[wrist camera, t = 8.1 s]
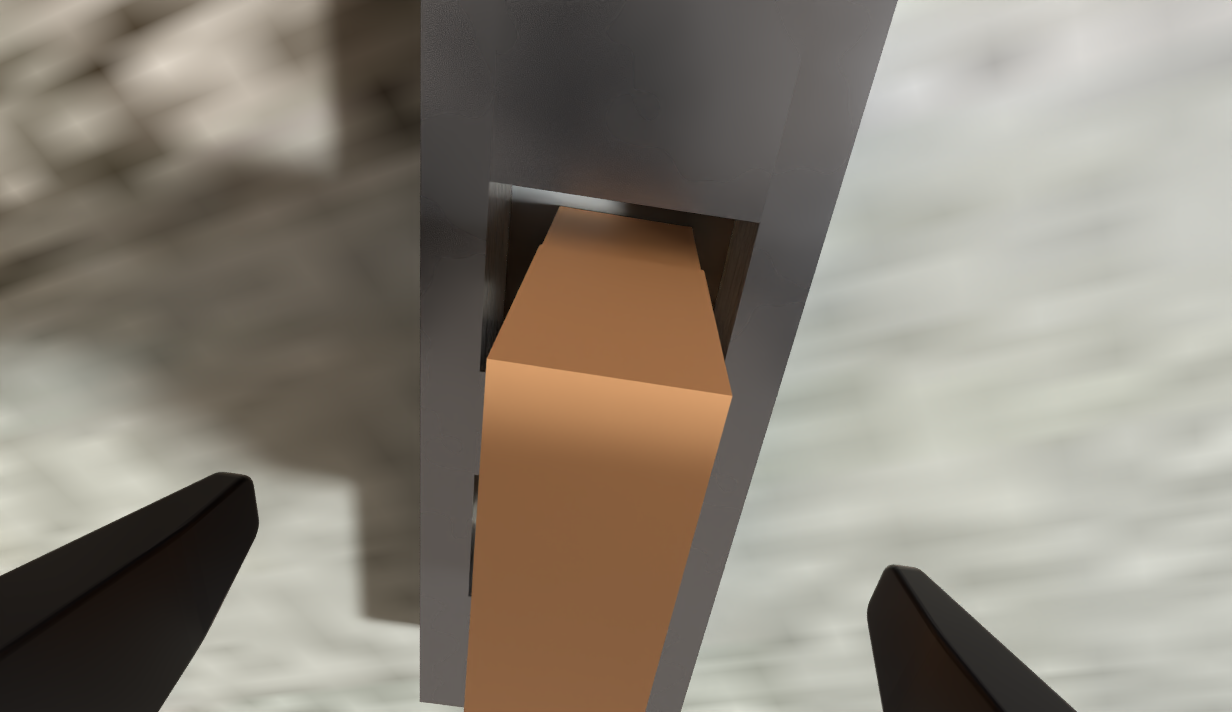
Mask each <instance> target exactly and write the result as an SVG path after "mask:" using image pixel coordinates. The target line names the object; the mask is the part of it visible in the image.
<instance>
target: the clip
mask: <svg viewBox="0 0 1232 712" xmlns="http://www.w3.org/2000/svg"><path fill="white" fill-rule="evenodd" d="M731 399H732V392H731V387H730V383H729V379H728V374H727V370H726V365H725V361H724V357H723V352H722V348H721V343H720V339H719V334H718V330H717V326H716V321H715V317H714V312H713V308H712V304H711V299H710V295H709V290H708V286H707V281H706V277H705V273H704V270H701V267H700V263H699V258H698V253H697V249H696V244H695V239H694V235H693V230H692V227H687V226H681V225H674V224H668V223H662V222H656V221H650V220H643V219H637V218H631V217H625V216H618V215H612V214H606V213H600V212H593V211H587V210H581V209H575V208H569V207H562V206H559V209H558V211H557V213H556V215H555V217H554V220H553V222H552V224H551V226H550V228H549V231H548V233H547V235H546V237H545V239H544V242H543V244H542V245H539V247H538V250H537V252H536V254H535V256H534V258H533V260H532V262H531V265H530V267H529V269H528V271H527V273H526V275H525V277H524V280H523V282H522V284H521V286H520V288H519V290H518V292H517V295H516V297H515V299H514V301H513V303H512V305H511V308H510V310H509V312H508V314H507V316H506V318H505V320H504V323H503V325H502V327H501V329H500V331H499V333H498V335H497V338H496V340H495V342H494V344H493V346H492V348H491V350H490V353H489V355H488V357H487V362H486V377H485V393H484V408H483V424H482V439H481V455H480V470H479V486H478V501H477V517H476V532H475V548H474V563H473V579H472V594H471V610H470V625H469V640H468V656H467V671H466V687H465V702H464V712H645V711H646V707H647V703H648V700H649V696H650V692H651V689H652V685H653V682H654V678H655V674H656V671H657V667H658V663H659V660H660V656H661V653H662V649H663V645H664V642H665V638H666V635H667V631H668V627H669V624H670V620H671V616H672V613H673V609H674V606H675V602H676V598H677V595H678V591H679V587H680V584H681V580H682V577H683V573H684V569H685V566H686V562H687V559H688V555H689V551H690V548H691V544H692V540H693V537H694V533H695V530H696V526H697V522H698V519H699V515H700V511H701V508H702V504H703V501H704V497H705V493H706V490H707V486H708V483H709V479H710V475H711V472H712V468H713V464H714V461H715V457H716V454H717V450H718V446H719V443H720V439H721V435H722V432H723V428H724V425H725V421H726V417H727V414H728V410H729V407H730V403H731Z"/></svg>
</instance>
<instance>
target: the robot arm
mask: <svg viewBox="0 0 1232 712" xmlns="http://www.w3.org/2000/svg"><path fill="white" fill-rule="evenodd" d="M258 527H259V517H258V510H257V503H256V497H255V490H254V485H253V481H252V480H251V478H250V477H248V476H246V475H242V474H235V473H227V472H218V473H215V474H212V475H210V476H208V477H206V478H204V479H202V480H200V481H198V482H196V483H193V484H191V485H189V486H187V487H185V488H183V489H181V490H179V491H177V492H175V493H173V494H170V495H168V496H166V497H164V498H162V499H160V500H158V501H156V502H154V503H152V504H150V505H147V506H145V507H143V508H141V509H139V510H137V511H135V512H133V513H131V514H129V515H127V516H124V517H122V518H120V519H118V520H116V521H114V522H112V523H110V524H108V525H106V526H104V527H101V528H99V529H97V530H95V531H93V532H91V533H89V534H87V535H85V536H83V537H81V538H78V539H76V540H74V541H72V542H70V543H68V544H66V545H64V546H62V547H60V548H58V549H55V550H53V551H51V552H49V553H47V554H45V555H43V556H41V557H39V558H37V559H35V560H32V561H30V562H28V563H26V564H24V565H22V566H20V567H18V568H16V569H14V570H12V571H9V572H7V573H5V574H3V575H1V576H0V712H158V711H159V710H160V708H161V707H162V705H163V704H164V702H165V700H166V699H167V697H168V696H169V694H170V693H171V691H172V689H173V688H174V686H175V685H176V683H177V682H178V680H179V678H180V677H181V675H182V674H183V672H184V671H185V669H186V667H187V666H188V664H189V663H190V661H191V660H192V658H193V656H194V655H195V653H196V651H197V650H198V648H199V647H200V645H201V643H202V642H203V640H204V638H205V636H206V634H207V633H208V631H209V629H210V627H211V625H212V623H213V621H214V619H215V617H216V615H217V613H218V611H219V609H220V607H221V605H222V603H223V601H224V599H225V597H226V595H227V593H228V591H229V589H230V587H231V585H232V583H233V581H234V579H235V577H236V575H237V573H238V571H239V569H240V567H241V565H242V563H243V561H244V559H245V557H246V555H247V553H248V551H249V549H250V547H251V545H252V543H253V541H254V539H255V537H256V534H257V531H258ZM867 621H868V628H869V633H870V639H871V645H872V651H873V657H874V662H875V668H876V674H877V680H878V686H879V691H880V697H881V703H882V709H883V712H1077V711H1076V710H1074V709H1073V708H1072V707H1071V706H1070V705H1069V704H1068V703H1067V702H1066V701H1065V700H1063V699H1062V698H1061V697H1060V696H1059V695H1058V694H1057V693H1056V692H1055V691H1054V690H1052V689H1051V688H1050V687H1049V686H1048V685H1047V684H1046V683H1045V682H1044V681H1043V680H1041V679H1040V678H1039V677H1038V676H1037V675H1036V674H1035V673H1034V672H1033V671H1032V670H1030V669H1029V668H1028V667H1027V666H1026V665H1025V664H1024V663H1023V662H1022V661H1021V660H1019V659H1018V658H1017V657H1016V656H1015V655H1014V654H1013V653H1012V652H1011V651H1010V650H1008V649H1007V648H1006V647H1005V646H1004V645H1003V644H1002V643H1001V642H1000V641H999V640H997V639H996V638H995V637H994V636H993V635H992V634H991V633H990V632H989V631H988V630H986V629H985V628H984V627H983V626H982V625H981V624H980V623H979V622H978V621H976V620H975V619H974V618H973V617H972V616H971V615H970V614H969V613H968V612H967V611H965V610H964V609H963V608H962V607H961V606H960V605H959V604H958V603H957V602H956V601H954V600H953V599H952V598H951V597H950V596H949V595H948V594H947V593H946V592H945V591H943V590H942V589H941V588H940V587H939V586H938V585H937V584H936V583H935V582H934V581H932V580H931V579H930V578H929V577H928V576H927V575H926V574H925V573H924V572H922V571H921V570H920V569H918V568H915V567H909V566H902V565H889V566H887V567H886V568H885V570H884V571H883V573H882V575H881V578H880V580H879V582H878V584H877V586H876V588H875V591H874V593H873V595H872V597H871V599H870V601H869V604H868V609H867Z"/></svg>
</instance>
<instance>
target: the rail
mask: <svg viewBox="0 0 1232 712" xmlns="http://www.w3.org/2000/svg"><path fill="white" fill-rule="evenodd" d="M897 1H898V0H421V219H420V702H426V703H434V704H442V705H450V706H457V707H464V702H465V687H466V671H467V656H468V640H469V625H470V610H471V594H472V579H473V563H474V548H475V532H476V517H477V501H478V486H479V470H480V455H481V439H482V424H483V408H484V393H485V377H486V362H487V357H488V355H489V353H490V350H491V348H492V346H493V344H494V342H495V340H496V338H497V335H498V333H499V331H500V329H501V327H502V325H503V323H504V322H503V314H504V299H505V284H506V269H507V254H508V239H509V225H510V210H511V195H512V185H515V186H522V187H529V188H535V189H542V190H548V191H555V192H561V193H568V194H574V195H581V196H587V197H594V198H600V199H607V200H613V201H620V202H626V203H633V204H639V205H646V206H652V207H659V208H665V209H672V210H678V211H685V212H691V213H698V214H704V215H711V216H717V217H724V218H730V219H735V223H734V227H733V232H732V236H731V240H730V244H729V249H728V253H727V257H726V262H725V266H724V270H723V274H722V279H721V283H720V287H719V291H718V296H717V300H716V304H715V308H714V317H715V321H716V326H717V330H718V334H719V339H720V343H721V348H722V352H723V357H724V361H725V365H726V370H727V374H728V379H729V383H730V387H731V392H732V399H731V403H730V407H729V410H728V414H727V417H726V421H725V425H724V428H723V432H722V435H721V439H720V443H719V446H718V450H717V454H716V457H715V461H714V464H713V468H712V472H711V475H710V479H709V483H708V486H707V490H706V493H705V497H704V501H703V504H702V508H701V511H700V515H699V519H698V522H697V526H696V530H695V533H694V537H693V540H692V544H691V548H690V551H689V555H688V559H687V562H686V566H685V569H684V573H683V577H682V580H681V584H680V587H679V591H678V595H677V598H676V602H675V606H674V609H673V613H672V616H671V620H670V624H669V627H668V631H667V635H666V638H665V642H664V645H663V649H662V653H661V656H660V660H659V663H658V667H657V671H656V674H655V678H654V682H653V685H652V689H651V692H650V696H649V700H648V703H647V707H646V711H645V712H681V709H682V705H683V702H684V699H685V695H686V692H687V689H688V686H689V682H690V679H691V676H692V673H693V669H694V666H695V663H696V659H697V656H698V653H699V650H700V646H701V643H702V640H703V636H704V633H705V630H706V627H707V623H708V620H709V617H710V614H711V610H712V607H713V604H714V600H715V597H716V594H717V591H718V587H719V584H720V581H721V578H722V574H723V571H724V568H725V564H726V561H727V558H728V555H729V551H730V548H731V545H732V541H733V538H734V535H735V532H736V528H737V525H738V522H739V519H740V515H741V512H742V509H743V505H744V502H745V499H746V496H747V492H748V489H749V486H750V483H751V479H752V476H753V473H754V469H755V466H756V463H757V460H758V456H759V453H760V450H761V446H762V443H763V440H764V437H765V433H766V430H767V427H768V424H769V420H770V417H771V414H772V410H773V407H774V404H775V401H776V397H777V394H778V391H779V387H780V384H781V381H782V378H783V374H784V371H785V368H786V365H787V361H788V358H789V355H790V351H791V348H792V345H793V342H794V338H795V335H796V332H797V329H798V325H799V322H800V319H801V315H802V312H803V309H804V306H805V302H806V299H807V296H808V292H809V289H810V286H811V283H812V279H813V276H814V273H815V270H816V266H817V263H818V260H819V256H820V253H821V250H822V247H823V243H824V240H825V237H826V234H827V230H828V227H829V224H830V220H831V217H832V214H833V211H834V207H835V204H836V201H837V197H838V194H839V191H840V188H841V184H842V181H843V178H844V175H845V171H846V168H847V165H848V161H849V158H850V155H851V152H852V148H853V145H854V142H855V138H856V135H857V132H858V129H859V125H860V122H861V119H862V116H863V112H864V109H865V106H866V102H867V99H868V96H869V93H870V89H871V86H872V83H873V80H874V76H875V73H876V70H877V66H878V63H879V60H880V57H881V53H882V50H883V47H884V43H885V40H886V37H887V34H888V30H889V27H890V24H891V21H892V17H893V14H894V11H895V7H896V4H897Z"/></svg>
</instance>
